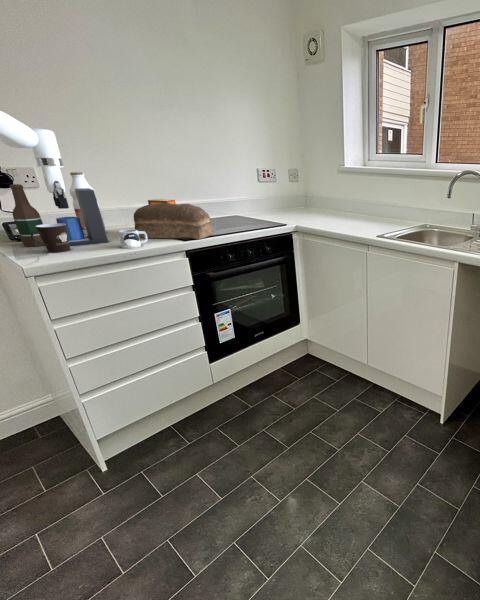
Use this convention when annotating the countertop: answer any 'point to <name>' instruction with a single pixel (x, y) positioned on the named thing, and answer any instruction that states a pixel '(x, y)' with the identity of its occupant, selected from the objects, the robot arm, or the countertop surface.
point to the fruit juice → (77, 183)
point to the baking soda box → (161, 201)
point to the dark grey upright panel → (90, 218)
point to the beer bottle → (25, 217)
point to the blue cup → (72, 227)
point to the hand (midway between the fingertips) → (62, 207)
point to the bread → (172, 221)
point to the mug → (131, 238)
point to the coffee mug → (53, 237)
